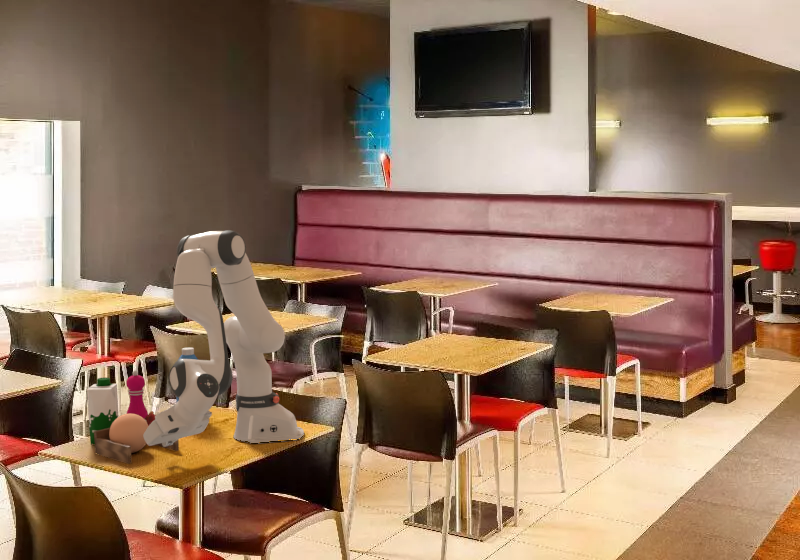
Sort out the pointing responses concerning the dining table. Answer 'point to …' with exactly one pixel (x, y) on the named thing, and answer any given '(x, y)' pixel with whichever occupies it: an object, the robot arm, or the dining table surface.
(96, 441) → the corral
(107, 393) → the milk carton
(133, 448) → the rubber ball
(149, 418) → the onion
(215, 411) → the dining table surface
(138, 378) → the pepper mill
